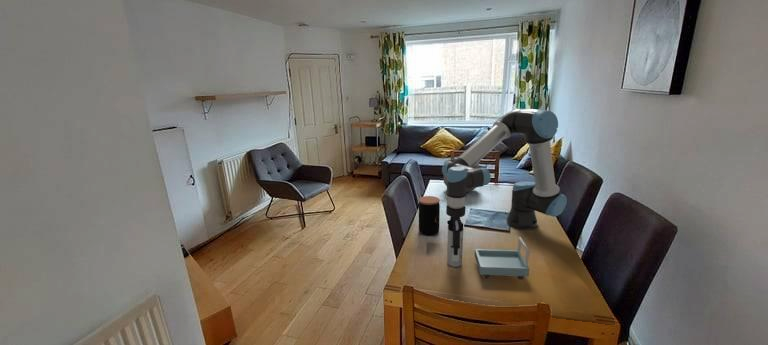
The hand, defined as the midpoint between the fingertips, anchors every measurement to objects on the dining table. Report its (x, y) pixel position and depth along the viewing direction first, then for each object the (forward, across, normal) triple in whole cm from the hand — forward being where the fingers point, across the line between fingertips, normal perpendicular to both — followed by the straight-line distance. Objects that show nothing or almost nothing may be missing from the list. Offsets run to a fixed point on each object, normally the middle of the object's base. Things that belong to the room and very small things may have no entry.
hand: (454, 256), depth 133 cm
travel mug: (+4, 0, 0) cm, 4 cm away
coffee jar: (+4, -31, -10) cm, 33 cm away
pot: (+4, -98, +14) cm, 99 cm away
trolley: (+4, +3, +18) cm, 19 cm away
